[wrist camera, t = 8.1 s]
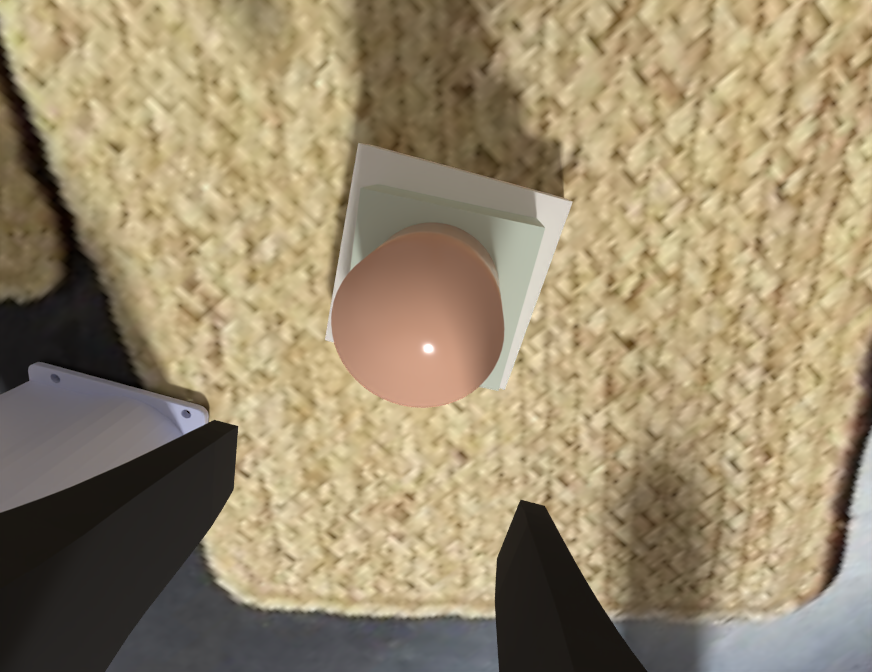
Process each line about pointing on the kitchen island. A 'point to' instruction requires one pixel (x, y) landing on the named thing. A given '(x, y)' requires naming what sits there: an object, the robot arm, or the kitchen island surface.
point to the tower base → (461, 187)
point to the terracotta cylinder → (421, 317)
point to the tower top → (496, 230)
